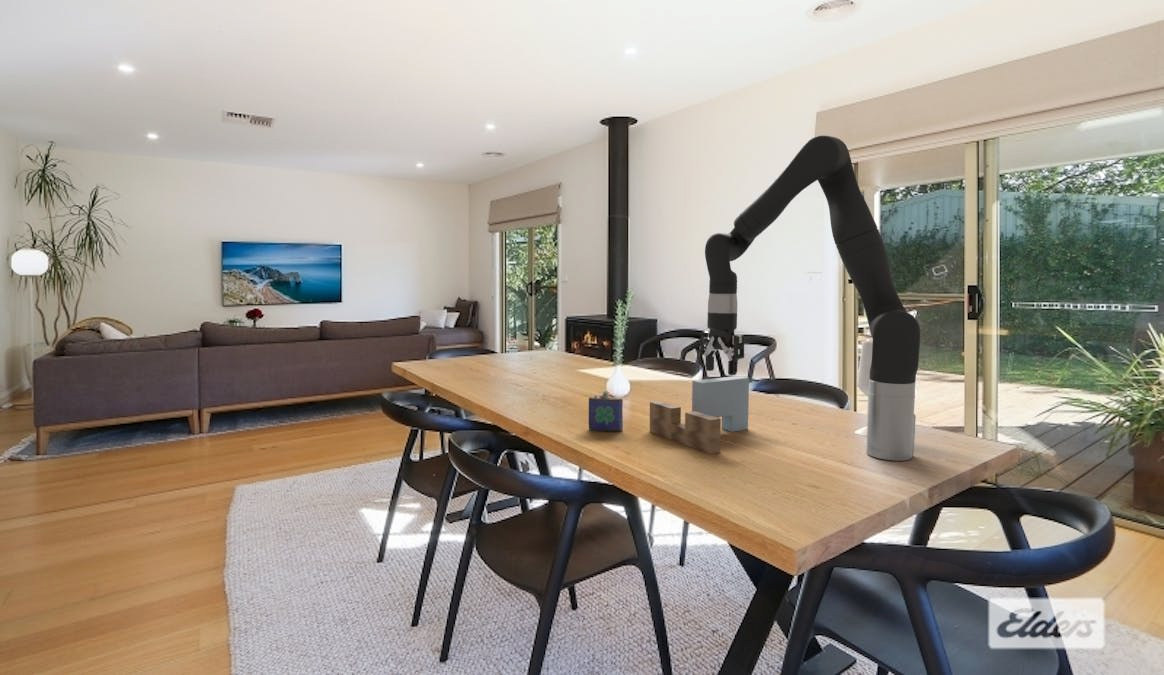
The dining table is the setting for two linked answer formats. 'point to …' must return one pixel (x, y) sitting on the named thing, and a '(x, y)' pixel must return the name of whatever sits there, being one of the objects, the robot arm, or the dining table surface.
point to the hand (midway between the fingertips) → (720, 372)
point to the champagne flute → (864, 376)
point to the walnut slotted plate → (686, 427)
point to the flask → (605, 413)
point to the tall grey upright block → (723, 400)
